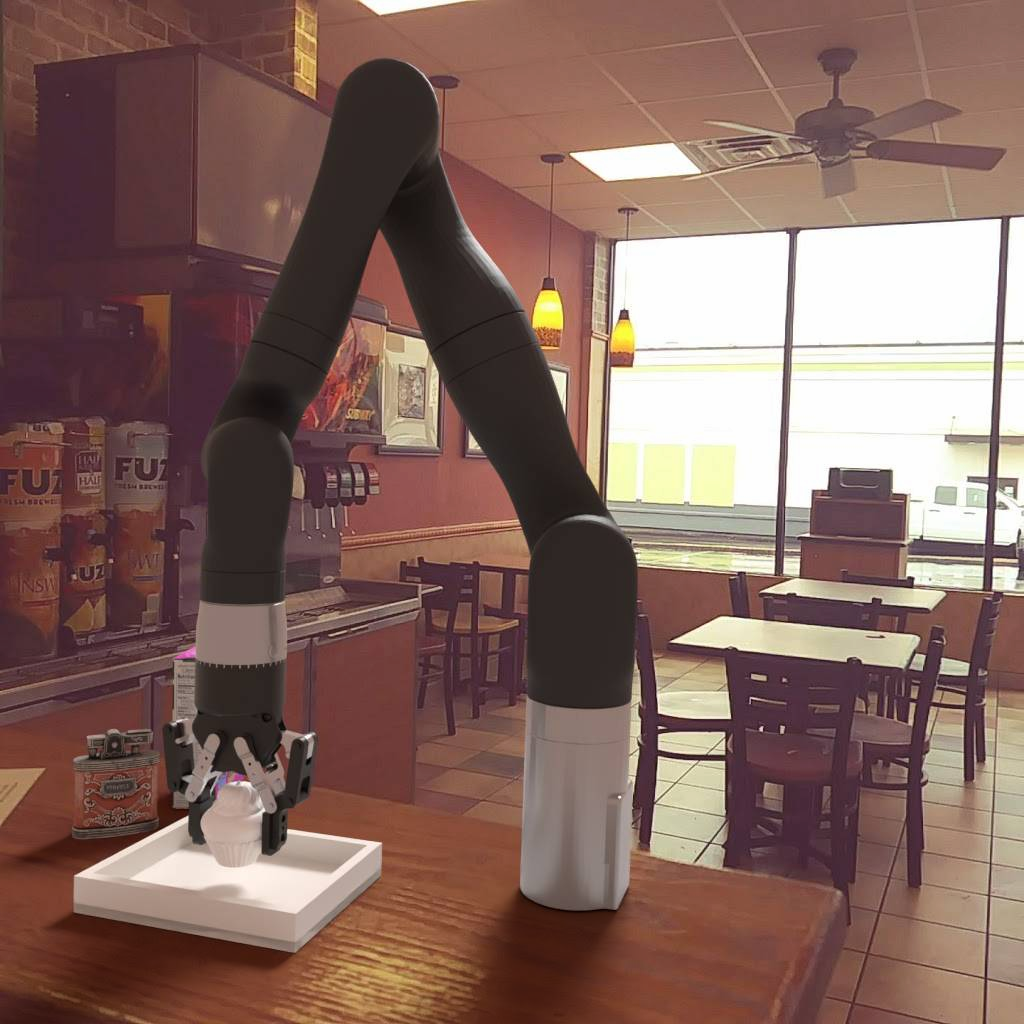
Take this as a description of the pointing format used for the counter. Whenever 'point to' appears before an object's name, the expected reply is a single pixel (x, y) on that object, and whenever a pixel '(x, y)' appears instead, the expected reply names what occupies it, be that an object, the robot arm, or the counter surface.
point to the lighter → (116, 786)
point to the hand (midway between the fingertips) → (236, 846)
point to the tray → (230, 887)
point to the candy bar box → (191, 716)
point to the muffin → (234, 825)
